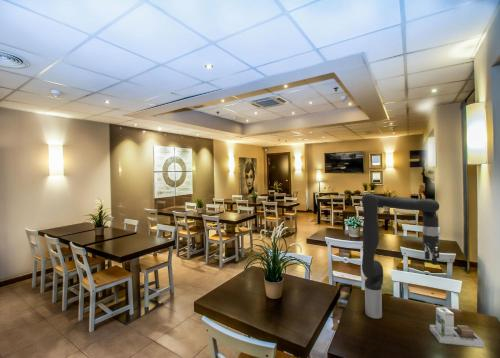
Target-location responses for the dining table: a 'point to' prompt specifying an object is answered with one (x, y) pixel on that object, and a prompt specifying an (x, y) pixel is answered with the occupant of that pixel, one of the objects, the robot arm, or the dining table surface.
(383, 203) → the robot arm
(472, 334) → the walnut block
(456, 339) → the white compartment tray
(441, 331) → the syrup box
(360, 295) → the dining table surface
